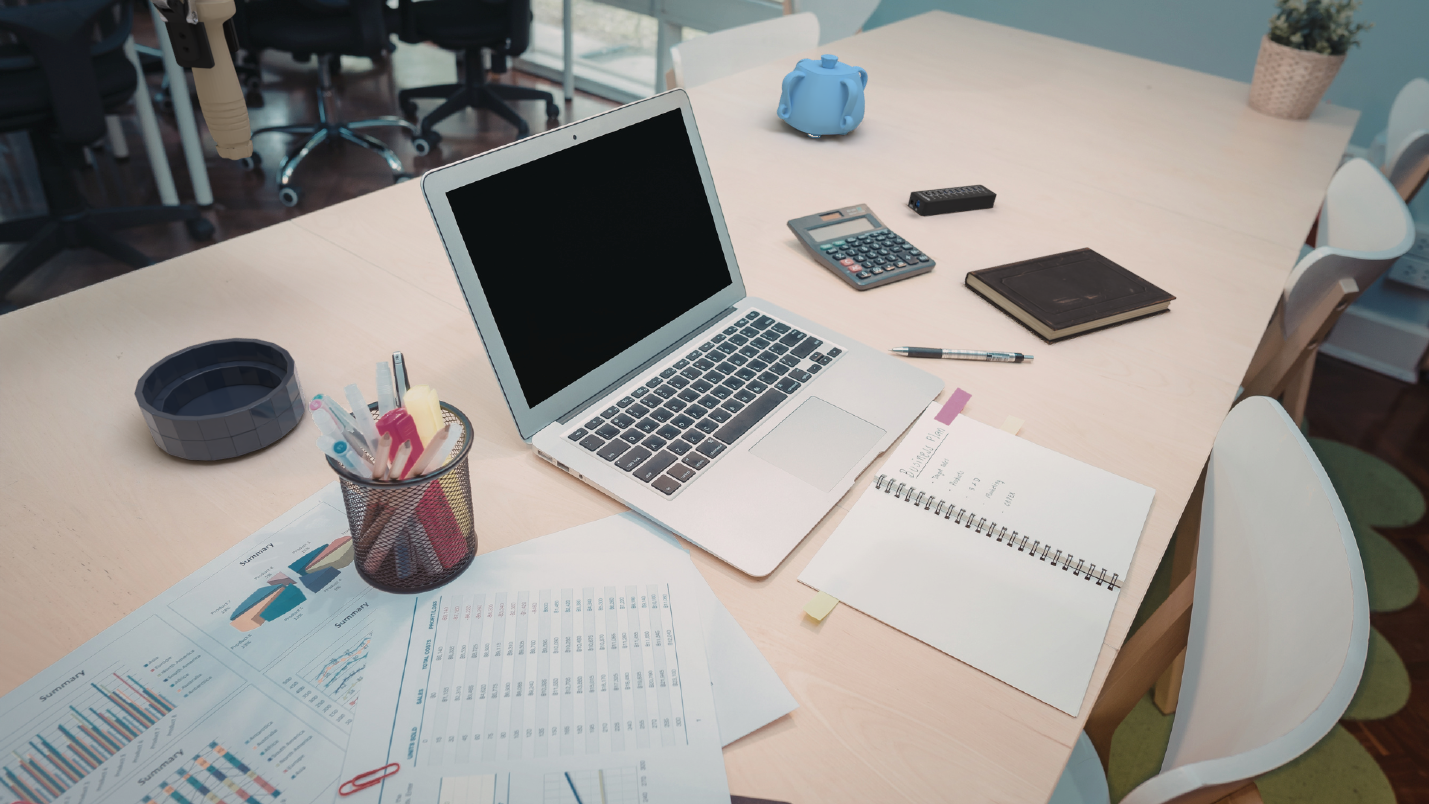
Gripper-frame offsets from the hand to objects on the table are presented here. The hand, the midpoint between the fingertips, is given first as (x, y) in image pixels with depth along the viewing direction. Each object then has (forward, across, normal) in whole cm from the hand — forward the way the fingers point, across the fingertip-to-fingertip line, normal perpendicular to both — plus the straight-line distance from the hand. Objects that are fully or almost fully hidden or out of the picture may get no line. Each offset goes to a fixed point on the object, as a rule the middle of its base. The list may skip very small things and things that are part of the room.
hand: (209, 56), depth 78 cm
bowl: (+27, +22, +4) cm, 35 cm away
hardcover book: (+26, -8, +100) cm, 104 cm away
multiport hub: (+26, -37, +93) cm, 103 cm away
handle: (+10, 0, 0) cm, 10 cm away
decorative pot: (+26, -71, +77) cm, 108 cm away
